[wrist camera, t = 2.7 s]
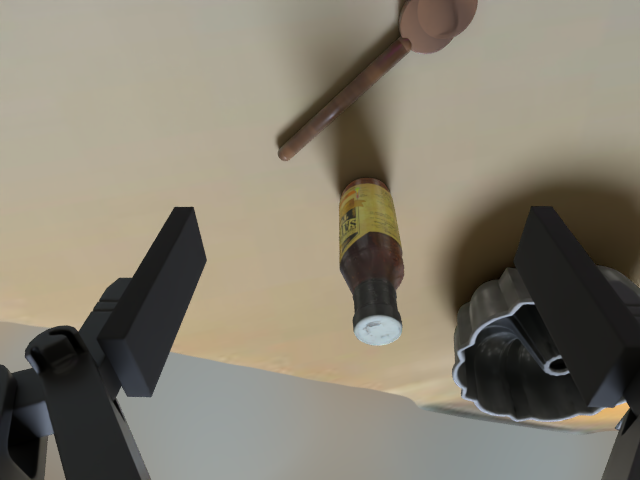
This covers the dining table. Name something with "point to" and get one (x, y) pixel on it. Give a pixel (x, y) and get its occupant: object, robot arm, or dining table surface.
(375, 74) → the wooden spoon
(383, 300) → the sauce bottle
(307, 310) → the dining table surface
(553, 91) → the dining table surface
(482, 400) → the bundt pan
